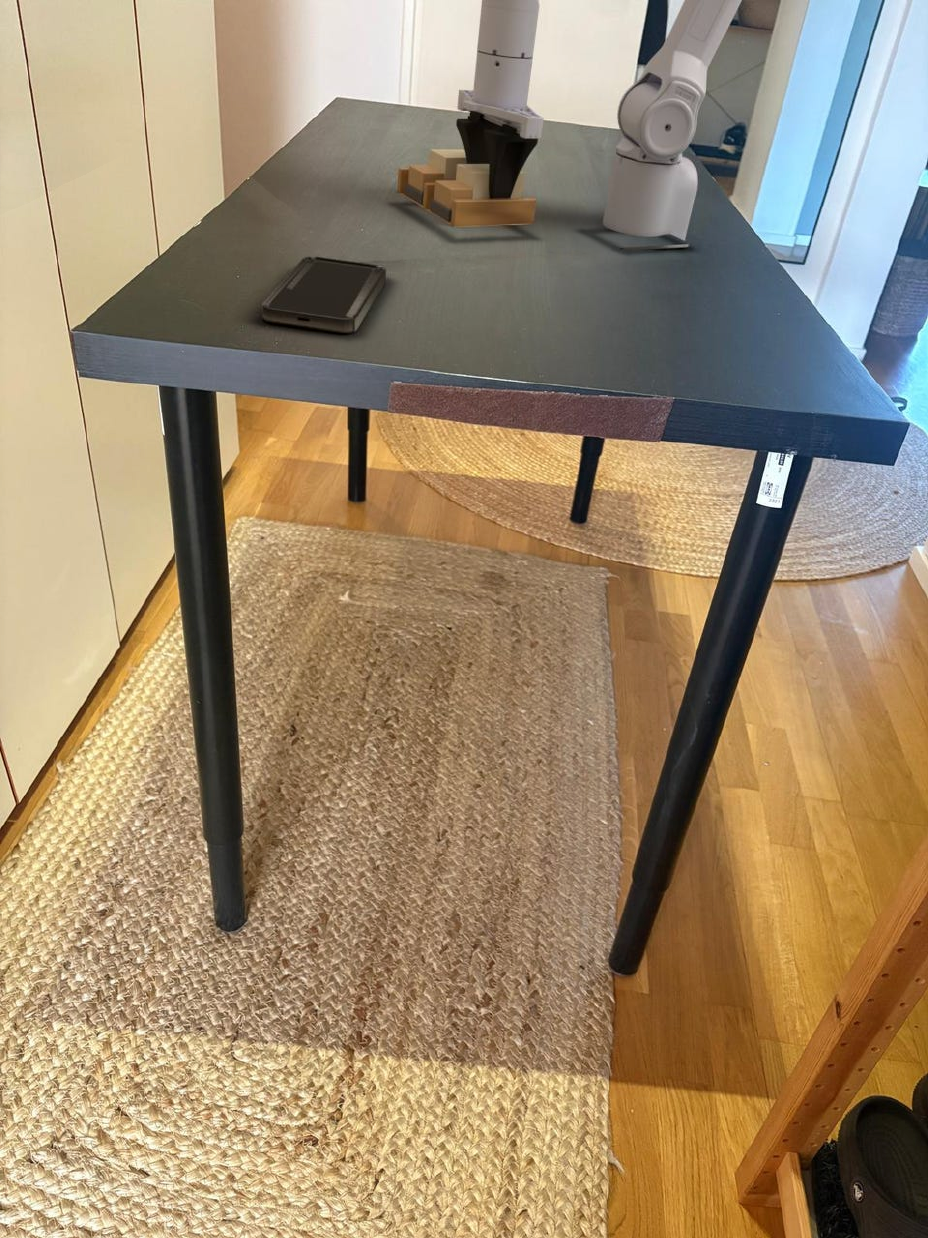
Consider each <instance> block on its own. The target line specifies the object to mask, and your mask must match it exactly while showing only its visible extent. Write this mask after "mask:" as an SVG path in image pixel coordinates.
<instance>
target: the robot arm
mask: <svg viewBox="0 0 928 1238" xmlns="http://www.w3.org/2000/svg"><path fill="white" fill-rule="evenodd" d="M742 1H743V0H684V1H683V2H682V5H681V7H680V9H679V11H678V14H677V15H676V17H675V20H674V22H673V24H672V26H671V28H670V30H669V32H668V34H667V36H666V38H665V41H664V43H663V45H662V47H661V48H660V49H659V50H658V51H657V52H656V53H655V54H654V55H653V56H652V57H651V58H650V60H649V61H648V62H647V63H646V65H645V67H644V68H643V69H644V70H643V72H642V74H641V75H640V76H639V78H638V79H637V80H636V82H634V84H632V85H631V86H630V87H629V88H628V89H627V90H626V91H625V92H624V93H623V95H622V97H621V99H620V101H619V104H618V107H617V113H616V114H617V115H616V116H617V117H616V118H617V123H618V128H619V130H620V132H621V133H622V138H621V139H620V141H619V142H618V143H617V145H616V147H615V153H614V159H613V165H612V169H611V176H610V180H609V186H608V191H607V196H606V201H605V202H606V203H605V208H604V212H603V219H602V225H603V226H604V227H605V228H606V229H608V230H611V231H614V232H617V233H620V234H624V235H628V236H636V237H645V238H648V237H650V238H651V237H652V238H653V237H654V238H655V237H660V236H667V235H671V236H673V237H675V238H677V239H680V240H682V241H684V242H686V237H687V233H688V229H689V224H690V221H691V217H692V212H693V208H694V204H695V199H696V196H697V192H698V183H699V182H698V172H697V169H696V166H695V165H694V163H693V162H692V160H690V159H689V158H687V157H685V156H683V152H684V151H686V149H687V148H688V147H689V146H690V145H691V143H692V141H693V139H694V138H695V137H694V136H695V134H696V131H697V130H696V129H697V125H698V123H697V122H698V114H699V109H700V108H701V104H702V103H703V101H704V99H705V97H706V92H707V77H708V68H709V66H710V65H711V63H712V60H713V59H714V57H715V55H716V52H717V50H718V48H719V47H720V45H721V43H722V41H723V39H724V37H725V35H726V33H727V31H728V29H729V27H730V24H731V23H732V21H733V19H734V17H735V15H736V13H737V11H738V9H739V8H740V5H741V3H742ZM539 11H540V2H539V0H481V6H480V16H479V28H478V36H477V37H478V38H477V46H476V59H475V68H474V78H473V80H474V81H473V87H472V88H473V89H458V97H457V107H456V108H457V110H458V111H461V112H468V113H469V115H467V118H457V119H456V121H455V125H456V128H457V130H458V133H459V136H460V138H461V142H462V146H463V150H464V151H465V156H466V162H467V164H489V198H490V199H502V198H511V195H512V192H513V190H514V187H515V184H516V181H517V179H518V176H519V174H520V171H522V169H523V167H524V165H525V163H526V161H527V159H528V158H529V156H530V155H531V153H532V152H533V151H534V149H535V148H536V146H537V145H538V142H539V140H540V139H542V134H543V128H544V127H543V125H544V120H545V118H544V117H543V116H541V115H539V114H537V113H536V112H535V110H533V109H532V108H531V107H530V106H529V105H528V97H529V91H530V90H529V89H530V82H531V74H532V65H533V58H534V52H535V51H534V50H535V43H536V37H537V36H536V35H537V28H538V20H539ZM689 246H690V243H689V244H669V245H667V244H666V245H647V246H632V247H630V246H629V247H628V246H627V247H619V249H620V250H622V251H641V250H642V251H644V250H660V249H661V250H663V249H679V248H682V249H683V248H689Z"/></svg>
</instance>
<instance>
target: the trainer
mask: <svg viewBox="0 0 928 1238" xmlns="http://www.w3.org/2000/svg"><path fill="white" fill-rule="evenodd" d="M525 180H526V171H523V170H521V171H520V174H519V176H518V179H517V181H516V184H515V187H514V190H513V192H512V195H511V198H524V197H523V196H524V195H523V194H524V189H525ZM457 199H490V198H489V164H457V172H456V180H439V181H435V189H434V199H433V200H431V203H430V211H431V212H433V213H434V214H436V215H438V216H439V217H441V218H442V219H444V220H446V221H447V222H451V217H452V206H453V200H457ZM431 212H430V213H431ZM434 214H433V215H434ZM436 215H435V216H436ZM439 217H438V218H439ZM442 219H441V220H442ZM444 220H443V221H444ZM447 222H446V223H447Z"/></svg>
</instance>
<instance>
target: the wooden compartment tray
mask: <svg viewBox="0 0 928 1238" xmlns="http://www.w3.org/2000/svg"><path fill="white" fill-rule="evenodd" d="M408 176H409V167H398V170H397V185H396V186H397V187H396V191H397V193H399V194H400V195H402V196H404V197H405V198H407V199H408V200H410V201H412V202H413V203H415V204H417V205H418V206H420V207H421V208H423V209H425V210H426V211H428V212H429V213H431V214H432V215H434V216H436V217H437V218H439V219H440V220H441V221H444V222H445V223H447V224H448V225H450V226H452V227H453V228H461V227H463V228H464V227H465V228H466V227H488V226H489V227H491V226H515V225H516V226H517V225H534V221H535V213H536V207H537V199H536V198H534V197H522V198H502V199H457V200H453V206H452V217H451V222H447V221H446V220H444V219H442V218H441V217H439V216H438V215H436V214H434V213H433V212H431V211H430V203H431V200H433V199H434V189H435V183H424V196H423V205H421V204H419V203H418V202H416V201H415V200H413V199H411V198H410V197H408V196H407V195H405V184H408Z"/></svg>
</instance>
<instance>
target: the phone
mask: <svg viewBox="0 0 928 1238" xmlns="http://www.w3.org/2000/svg"><path fill="white" fill-rule="evenodd" d="M386 277H387V268H386V267H384V266H381V265H377V264H371V263H365V262H364V263H363V262H356V261H349V260H343V259H337V258H336V259H335V258H330V257H322V256H305V257H303V258H302V259H301V260H300V261H299V262H298V263H297V264H296V265H295V266H294V268H292V270H291V271H290V272H289V273H288V274H287V276H286V277H284V278H283V279H282V281H281V282H280V283H279V284H277V286H276V287H275V288H274V289H273V291H272V292H271V293H270V294H269V295H268V296H267V297H266V299H264V301H263V302H262V303H261V312H262V313H261V314H262V315H261V316H262V319H263V320H264V321H265V322H267V323H270V324H277V325H284V326H292V327H298V328H306V329H312V330H320V331H325V332H326V331H327V332H333V333H340V334H350V333H354V332H356V331H357V330H358V329H359V327H360V326H361V324H362V322H363V321H364V319H365V317H366V316H367V314H368V312H369V310H370V309H371V307H372V305H373V304H374V302H375V300H376V299H377V297H378V296H379V294H380V292H381V290H383V287H384V286H385V285H386V282H387V281H386Z"/></svg>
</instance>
